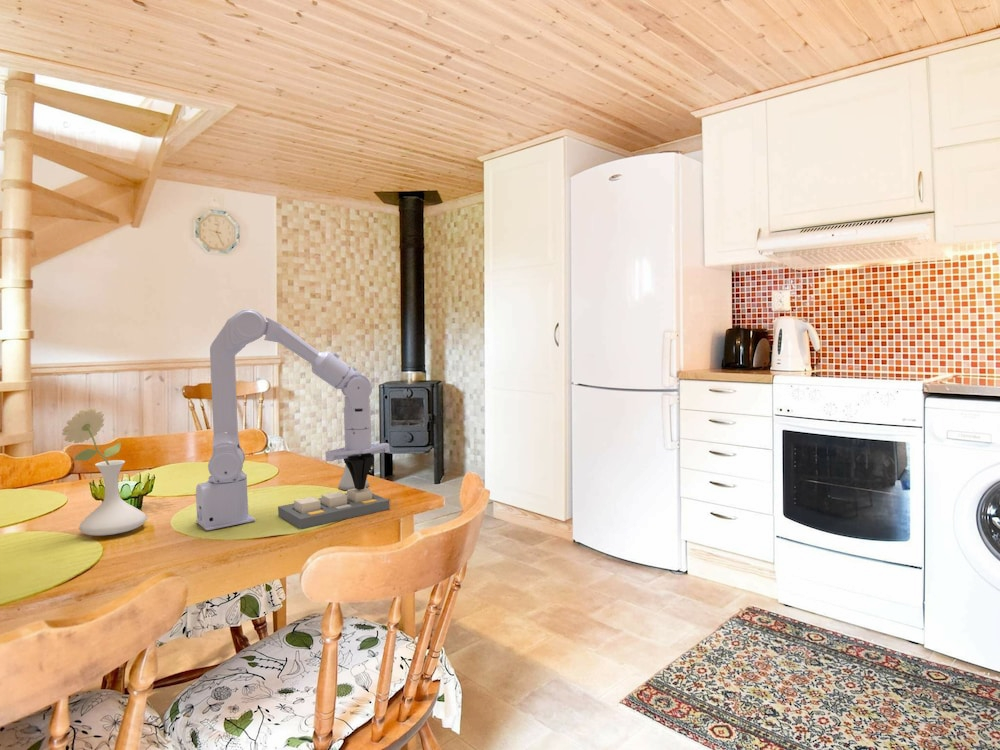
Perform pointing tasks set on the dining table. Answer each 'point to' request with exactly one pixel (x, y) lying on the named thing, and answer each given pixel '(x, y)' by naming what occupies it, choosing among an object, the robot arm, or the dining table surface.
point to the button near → (307, 505)
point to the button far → (359, 494)
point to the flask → (348, 480)
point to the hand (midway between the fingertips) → (359, 488)
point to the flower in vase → (113, 509)
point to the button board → (332, 512)
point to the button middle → (334, 499)
